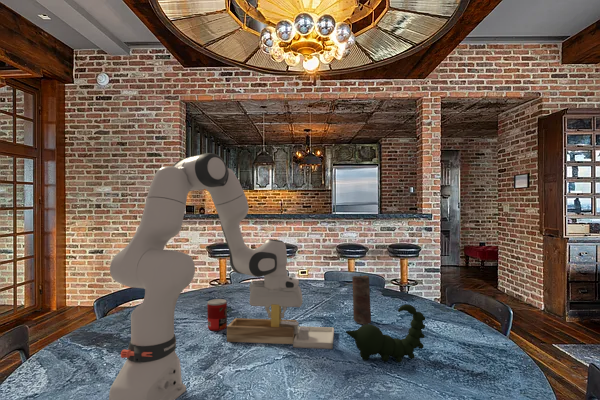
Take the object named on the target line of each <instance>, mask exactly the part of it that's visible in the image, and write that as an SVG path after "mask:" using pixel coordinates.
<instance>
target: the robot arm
mask: <svg viewBox="0 0 600 400" xmlns="http://www.w3.org/2000/svg"><path fill="white" fill-rule="evenodd" d="M203 190H206V191H207V192H208V193H209V195H210V197H211V200H212V202H213V205H214V206H215V210H216V212H217V214H218V219H219V221H220V222H219V223H220V227H221V230H222V233H223V235H224V239H225V242H226V245H227V248H228V252H229V264H230V267H231V269H232V270H233V271H234V272H235V273H237V274H242V275H247V276H250V277H255V278H260V277H264V278H263V281H262V280H261V281H257V280H254V281H252V282H250V283H249V292H250V293H249V305H250V306H251V307H265V308H264V310H265V312H266V313H267V319H271V304H276V305H279V307H281V308H282V310H283V311H281V312H280V318H281V319H284V318H285V312H286V311H287V309H288V308H300V307H302V305H303V293H302V289H301V287H300V286H299V284H300V281H299V279H298V278H295V277H293V276H290V275H288V270H287V264H288V253H287V246H286V243H285V242H284V241H283V240H279V239H271V238H270V239H265V240H264V242H263V243H262V244H261V245H260V246H258V247H257V248H255V249H253V248H250V247H248V245H246V244H245V240H244V238H243V233H242V230H241V228H240V226H241V225H240V223H241V222H242V220H244V219H245V218H246V217H247V214H248V212H249V209H250V207H249V203H248V199H247V196H246V193H245V191H244V188H243V186H242V184H241V183H240V181H239V179H238V178H237V176H236V174H235V172H234V171H233V170H232V169H231V168H230V167H228V166H227V163H226V161H225V160H224V158H222V157H221V156H220V155H219V154H216V153H211V152H206V153H205V152H204V153H201V154H198V155H192V156H189V157H186V158H184V159H181V160H178V161H176V162H175V163H173V164H172V165H165V166H162V167H160V168H158V169H157V171H155V174H154V176H153V177H152V181H151V183H150V186H149V188H148V192H147V196H146V199H145V203H144V207H143V213H142V215H141V219H140V222H139V225H138V228H137V229H136V232H135V233H134V235H133V237H132V238H131V239H130V241H129V242H128V244H127V245H126V246H125V247H124V248H123V249H122V250H120V251H119V252H118V253H116V254H115V255H114V257H112V260H111V262H110V266H109V273H110V276H111V278H112V280H114V282H116V283H118V284H121V285H123V286H124V287H125V286H126V287H128V288H135V289H136V288H137V289H144V298H143V301H142V303H140V304H138V305H137V306H136V307H135V308H133V310H132V312H131V315H130V337H131V338H130V341H129V344H128V347H127V349H122V350H121V351H120V358H121V359H125V358H126V360H125V362H124V364H123V366H122V367H121V369H120V370H119V372H118V374H117V376H116V377H115V379H114V381H113V382H112V384H111V386H110V389H109V392H108V400H176V399H178V398H179V397H180V396H181V395H182V394H184V393H185V392H186V391H187V385H185V384H184V383H183V380H182V379H183V378H182V367H181V360H180V358H179V356H178V355H177V353H176V349H177V339H176V334H175V311H176V306H177V305H176V304H177V302H178V299H179V297H180V295H181V293H182V292H183V291H184V290H185V289H186V288H187V287H188V286H190V284H191V283H192V281H193V279H194V277H195V274H196V265H195V261H194V260H193V258H192V257H191V255H190V254H187V253H185V252H183V251H178V250H173V249H165V247H166V245H167V244H168V242H169V241H170V240H171V239H172V238H174V237H176V236H177V235H178V234H179V233H180V232H181V230H182V226H183V221H184V215H185V211H186V206H187V200H188V195H189V193H190V192H192V191H203Z"/></svg>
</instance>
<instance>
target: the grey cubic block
mask: <svg viewBox="0 0 600 400" xmlns="http://www.w3.org/2000/svg"><path fill="white" fill-rule="evenodd" d="M289 322H290V321H280V323H279V327H288V324H289Z"/></svg>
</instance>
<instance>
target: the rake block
mask: <svg viewBox="0 0 600 400" xmlns="http://www.w3.org/2000/svg"><path fill="white" fill-rule="evenodd" d="M270 312H271V318H270V319H271V327H279V323H280V321H281V320H282V318H280V312H282V307H279V305H276V304H271V306H270Z"/></svg>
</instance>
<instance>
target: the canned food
mask: <svg viewBox="0 0 600 400" xmlns="http://www.w3.org/2000/svg"><path fill="white" fill-rule="evenodd" d="M227 304H228V303H227V300H226V299H223V298H214V299H213V298H212V299H210V300H208V301H207V307H206V308H207V329H208V330H210V331H213V332H214V331H215V332H217V331H223V330H225V329H227V326H228V313H227V312H228V305H227Z"/></svg>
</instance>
